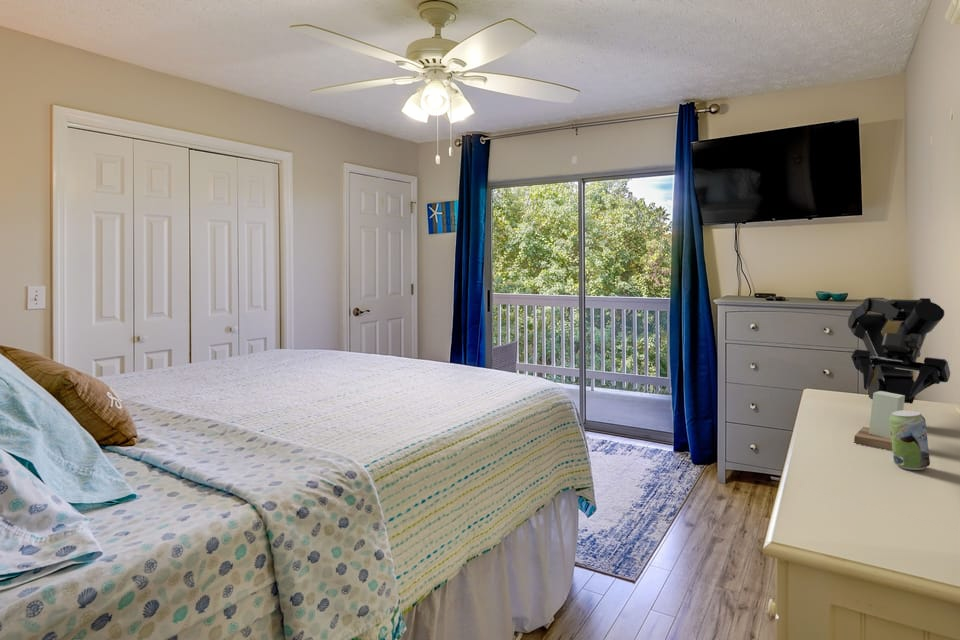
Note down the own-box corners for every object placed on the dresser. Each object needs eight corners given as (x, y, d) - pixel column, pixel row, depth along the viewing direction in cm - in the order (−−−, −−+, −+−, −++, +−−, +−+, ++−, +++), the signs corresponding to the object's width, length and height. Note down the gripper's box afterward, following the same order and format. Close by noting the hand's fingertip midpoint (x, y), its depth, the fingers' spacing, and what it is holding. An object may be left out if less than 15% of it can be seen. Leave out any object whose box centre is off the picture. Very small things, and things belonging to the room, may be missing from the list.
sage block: (875, 430, 135) (880, 390, 133) (900, 436, 131) (905, 395, 129) (868, 433, 132) (873, 393, 131) (893, 439, 128) (898, 397, 127)
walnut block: (862, 436, 139) (863, 426, 138) (912, 445, 132) (913, 435, 131) (853, 445, 132) (854, 435, 131) (906, 456, 125) (907, 445, 124)
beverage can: (936, 474, 113) (941, 416, 111) (895, 471, 114) (900, 414, 113) (918, 463, 119) (923, 408, 117) (879, 460, 120) (884, 406, 119)
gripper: (856, 317, 140) (835, 365, 134) (950, 324, 125) (930, 378, 119) (866, 345, 145) (846, 392, 140) (958, 355, 130) (939, 408, 125)
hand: (887, 392), depth 131 cm, fingers open, 9 cm apart
